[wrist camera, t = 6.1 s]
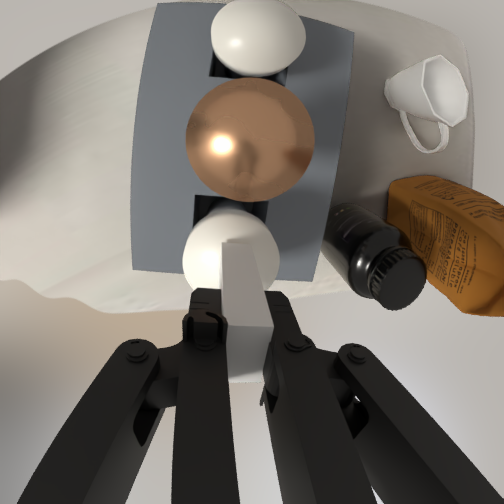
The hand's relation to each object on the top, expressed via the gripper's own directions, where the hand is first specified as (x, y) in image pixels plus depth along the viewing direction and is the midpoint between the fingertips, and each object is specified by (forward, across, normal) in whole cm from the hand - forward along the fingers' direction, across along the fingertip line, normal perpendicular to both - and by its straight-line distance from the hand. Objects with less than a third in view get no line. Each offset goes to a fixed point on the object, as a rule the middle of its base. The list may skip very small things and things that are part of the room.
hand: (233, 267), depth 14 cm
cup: (+14, +17, +14) cm, 26 cm away
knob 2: (+9, 0, 0) cm, 9 cm away
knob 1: (+10, 0, +13) cm, 17 cm away
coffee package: (+14, +23, +2) cm, 27 cm away
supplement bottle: (+14, +13, -1) cm, 19 cm away
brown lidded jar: (+7, 0, +6) cm, 9 cm away
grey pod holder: (+13, 0, +7) cm, 15 cm away
